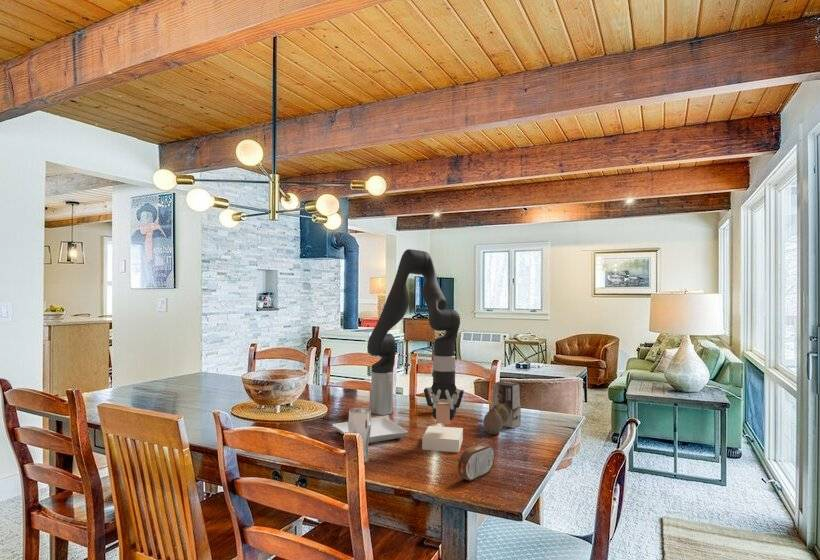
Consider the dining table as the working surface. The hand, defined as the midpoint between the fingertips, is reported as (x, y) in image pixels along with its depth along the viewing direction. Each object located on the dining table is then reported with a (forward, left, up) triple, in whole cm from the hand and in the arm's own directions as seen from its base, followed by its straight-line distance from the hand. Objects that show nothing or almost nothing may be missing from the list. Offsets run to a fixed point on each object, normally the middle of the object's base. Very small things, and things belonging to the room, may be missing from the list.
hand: (443, 419), depth 166 cm
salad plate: (-27, +4, -9) cm, 29 cm away
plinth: (0, 0, -9) cm, 9 cm away
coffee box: (+21, +31, -9) cm, 38 cm away
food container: (-5, +45, -9) cm, 46 cm away
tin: (+13, -26, -9) cm, 30 cm away
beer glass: (-23, -21, -9) cm, 32 cm away
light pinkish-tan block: (0, 0, -1) cm, 1 cm away
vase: (+16, +18, -9) cm, 26 cm away
